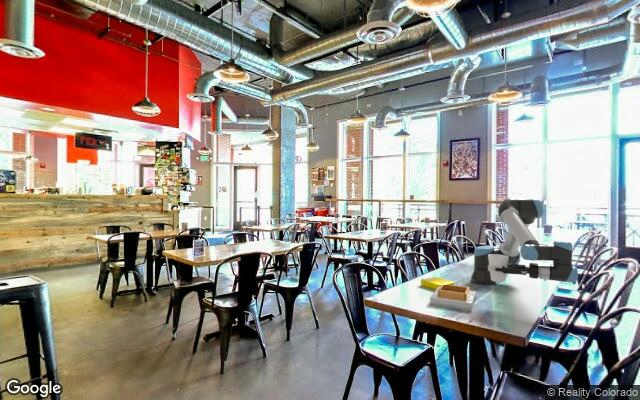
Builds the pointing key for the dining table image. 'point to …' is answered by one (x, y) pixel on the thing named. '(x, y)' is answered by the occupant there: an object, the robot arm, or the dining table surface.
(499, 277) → the foam cup
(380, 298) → the dining table surface
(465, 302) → the wooden box on base
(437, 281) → the element tile
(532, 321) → the dining table surface
